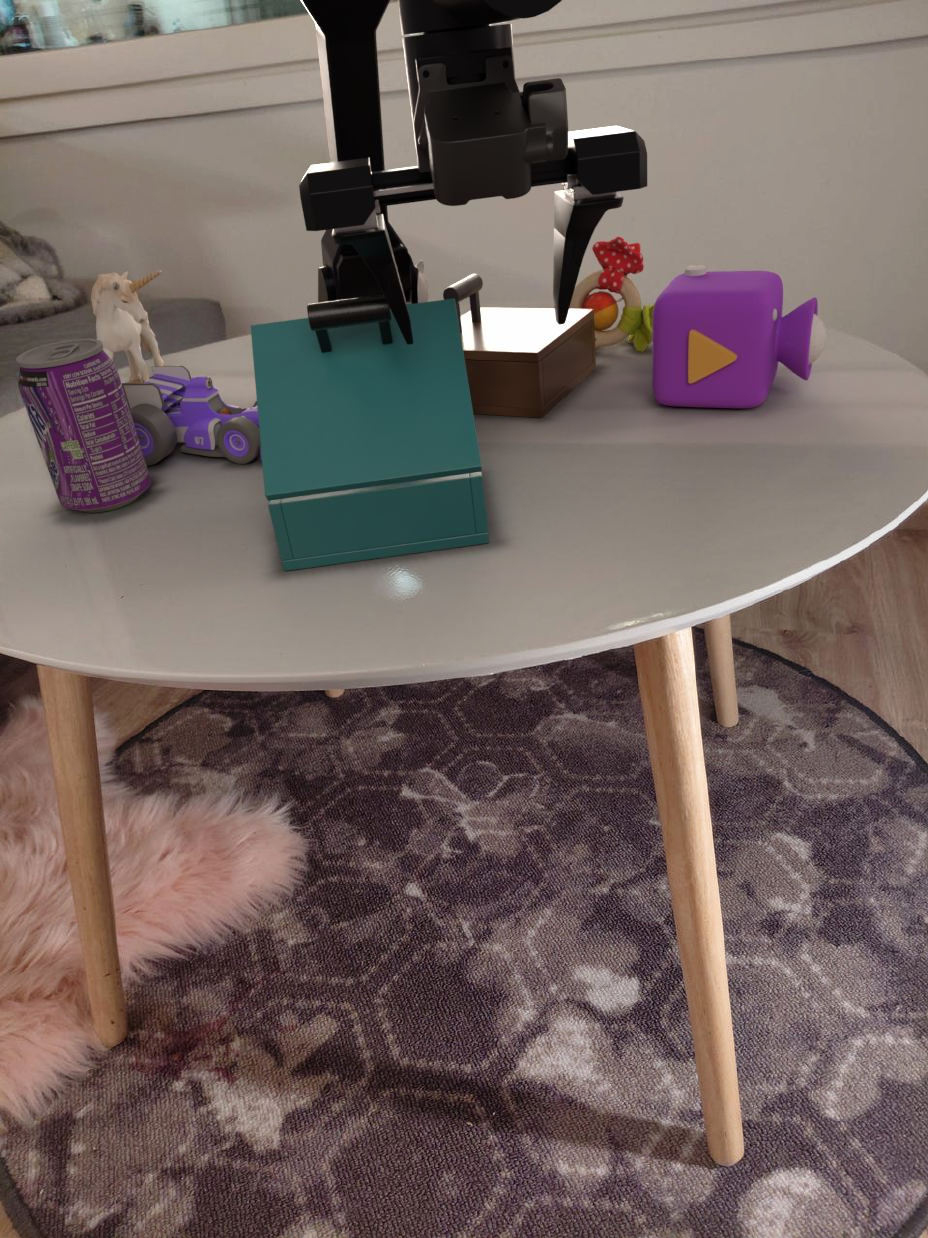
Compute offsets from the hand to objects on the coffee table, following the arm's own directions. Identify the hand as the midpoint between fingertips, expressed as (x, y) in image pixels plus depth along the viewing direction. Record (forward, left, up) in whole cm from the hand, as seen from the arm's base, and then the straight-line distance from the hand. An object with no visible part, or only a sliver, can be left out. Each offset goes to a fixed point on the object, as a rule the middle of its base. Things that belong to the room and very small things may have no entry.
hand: (485, 332), depth 57 cm
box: (-18, +22, -13) cm, 32 cm away
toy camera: (+1, +29, -13) cm, 32 cm away
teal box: (-8, -4, -13) cm, 16 cm away
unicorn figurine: (-52, +6, -13) cm, 54 cm away
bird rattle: (-16, +36, -13) cm, 42 cm away
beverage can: (-31, -13, -13) cm, 36 cm away
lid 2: (-18, +22, -8) cm, 30 cm away
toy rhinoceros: (-42, +32, -13) cm, 55 cm away
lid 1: (-7, -4, -4) cm, 9 cm away
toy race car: (-32, -1, -13) cm, 35 cm away
